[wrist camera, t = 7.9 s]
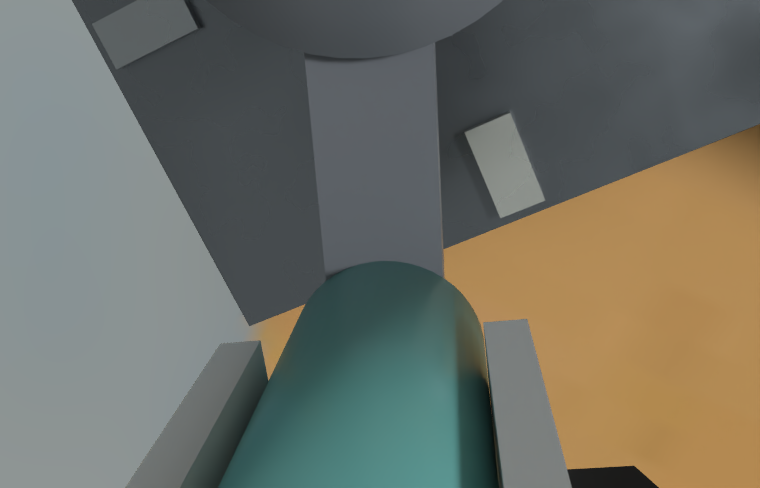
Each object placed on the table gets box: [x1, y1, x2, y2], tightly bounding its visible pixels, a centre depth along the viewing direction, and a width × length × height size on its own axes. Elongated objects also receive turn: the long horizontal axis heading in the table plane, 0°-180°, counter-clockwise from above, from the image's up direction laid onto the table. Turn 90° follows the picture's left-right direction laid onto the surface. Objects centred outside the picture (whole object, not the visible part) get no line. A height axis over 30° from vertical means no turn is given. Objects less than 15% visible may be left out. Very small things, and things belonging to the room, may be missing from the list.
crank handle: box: [206, 0, 503, 488], centre depth 10 cm, size 8×16×12 cm, turn 4°
